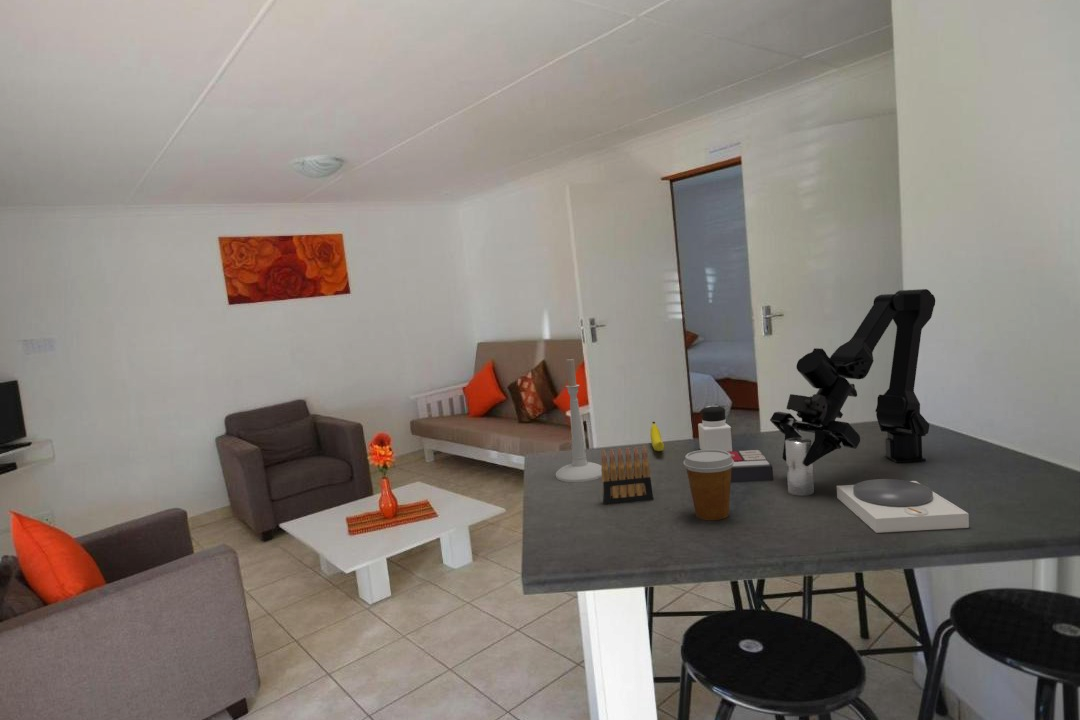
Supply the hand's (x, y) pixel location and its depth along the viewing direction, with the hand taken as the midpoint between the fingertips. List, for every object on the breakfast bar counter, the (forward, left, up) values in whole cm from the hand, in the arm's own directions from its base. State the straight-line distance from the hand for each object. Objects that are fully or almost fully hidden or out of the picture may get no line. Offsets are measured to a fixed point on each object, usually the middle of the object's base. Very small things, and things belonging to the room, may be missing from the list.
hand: (794, 462), depth 130 cm
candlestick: (+46, -24, -7) cm, 52 cm away
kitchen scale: (-14, +13, -7) cm, 21 cm away
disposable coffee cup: (+19, +9, -7) cm, 22 cm away
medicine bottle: (+10, -37, -7) cm, 39 cm away
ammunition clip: (+35, -2, -7) cm, 36 cm away
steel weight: (-1, -1, -7) cm, 7 cm away
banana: (+25, -41, -7) cm, 48 cm away
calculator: (+7, -17, -7) cm, 20 cm away
